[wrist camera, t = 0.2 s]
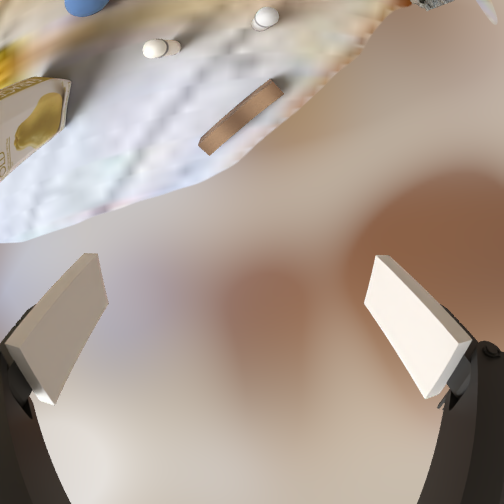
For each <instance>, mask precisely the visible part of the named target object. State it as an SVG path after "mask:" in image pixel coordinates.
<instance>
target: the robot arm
mask: <svg viewBox="0 0 504 504" xmlns="http://www.w3.org/2000/svg"><path fill="white" fill-rule="evenodd" d="M108 304H109V303H108V299H107V295H106V291H105V286H104V283H103V278H102V273H101V268H100V263H99V258H98V254H87V253H84V254H83V255H82V256H81V257H80V258H79V259H78V260H77V261H76V262H75V263H74V264H73V265H72V266H71V267H70V268H69V269H68V270H67V271H66V272H65V274H64V275H63V276H62V277H61V278H60V279H59V280H58V281H57V282H56V283H55V284H54V285H53V286H52V287H51V289H49V291H48V292H47V293H46V294H45V295H44V296H43V297H42V298H41V299H40V301H39V302H38V303H37V304H35V305H34V306H33V307H31V308H30V309H28V310H27V311H26V312H25V314H24V315H23V316H22V317H21V320H19V321H18V322H17V323H16V326H14V327H13V328H12V329H11V331H10V332H9V333H8V334H7V336H6V337H5V338H4V339H3V341H2V342H1V343H0V504H71V503H70V501H69V499H68V497H67V495H66V493H65V491H64V489H63V487H62V484H61V482H60V480H59V478H58V476H57V473H56V471H55V468H54V466H53V464H52V461H51V459H50V456H49V453H48V450H47V448H46V445H45V442H44V439H43V436H42V433H41V430H40V426H39V423H38V420H37V416H36V412H35V409H34V405H33V402H32V400H31V398H30V397H29V395H30V393H31V391H32V390H33V392H34V393H35V395H36V396H37V398H38V399H39V400H40V401H43V402H46V403H49V404H52V405H55V404H56V402H57V399H58V397H59V395H60V393H61V391H62V389H63V387H64V384H65V382H66V380H67V378H68V376H69V374H70V372H71V370H72V368H73V366H74V364H75V362H76V360H77V359H78V357H79V355H80V353H81V351H82V349H83V347H84V346H85V344H86V342H87V340H88V338H89V336H90V335H91V333H92V331H93V329H94V328H95V326H96V324H97V322H98V321H99V319H100V317H101V315H102V314H103V312H104V310H105V309H106V307H107V305H108ZM364 304H365V305H366V307H367V308H368V310H369V311H370V313H371V314H372V316H373V317H374V319H375V320H376V322H377V323H378V325H379V326H380V328H381V329H382V330H383V332H384V333H385V335H386V337H387V338H388V340H389V341H390V343H391V344H392V346H393V348H394V349H395V351H396V352H397V354H398V356H399V357H400V359H401V360H402V362H403V364H404V365H405V367H406V368H407V370H408V372H409V373H410V375H411V376H412V378H413V380H414V382H415V383H416V385H417V387H418V388H419V390H420V392H421V393H422V395H423V397H424V399H427V398H430V397H433V396H435V395H438V394H439V393H440V392H441V391H442V389H443V388H444V386H445V385H446V383H447V385H448V386H449V388H450V389H449V391H448V392H447V394H446V395H445V396H444V398H443V399H442V401H441V402H440V403H439V405H438V407H437V408H440V407H441V406H442V404H443V403H445V405H444V408H443V410H444V411H443V416H442V421H441V426H440V431H439V435H438V439H437V444H436V448H435V451H434V455H433V459H432V462H431V465H430V469H429V472H428V475H427V478H426V481H425V484H424V487H423V490H422V492H421V495H420V498H419V500H418V503H417V504H504V352H501V351H500V349H499V348H498V347H497V346H496V345H494V344H493V343H491V342H488V341H481V342H479V343H478V342H477V340H476V339H475V338H474V337H473V336H472V335H471V334H470V332H469V331H468V330H467V329H466V328H465V327H464V326H463V325H462V324H461V323H459V320H458V319H456V317H454V315H453V314H452V313H451V312H450V311H449V310H448V309H447V308H445V307H444V306H442V305H441V304H439V303H438V302H437V301H436V300H435V299H434V298H433V297H432V296H431V295H430V294H429V293H428V292H427V291H426V290H425V289H424V288H423V287H422V286H421V285H420V284H419V283H418V282H417V281H416V280H415V279H413V277H411V275H410V274H408V273H407V272H406V271H405V270H404V269H403V268H402V267H401V266H400V265H399V264H398V263H397V262H396V261H394V260H393V259H392V258H391V257H390V256H389V255H376V257H375V262H374V267H373V271H372V275H371V279H370V283H369V287H368V291H367V295H366V298H365V302H364Z"/></svg>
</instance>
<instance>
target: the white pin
mask: <svg viewBox="0 0 504 504" xmlns="http://www.w3.org/2000/svg"><path fill="white" fill-rule="evenodd" d="M180 49H181V45H180V43H179V42H178V41H174V40H163V39H152V40H149V41H147V42H146V43H145V44H144V46H143V54H144V55H145V56H146V57H147V58H160V57H163V56H169V55H175V54H177V53H178V52H179V51H180Z"/></svg>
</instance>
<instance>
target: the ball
mask: <svg viewBox="0 0 504 504" xmlns="http://www.w3.org/2000/svg"><path fill="white" fill-rule="evenodd" d="M108 2H109V0H65V7H66V9H67V11H68V12H69V13H70V14H72V15H74V16H78V17H85V16H90V15H93V14H95V13H97V12H98V11H100V10H101V9H102V8H104V7H105V6H106V4H107V3H108Z"/></svg>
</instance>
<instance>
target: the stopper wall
mask: <svg viewBox="0 0 504 504" xmlns="http://www.w3.org/2000/svg"><path fill="white" fill-rule="evenodd" d="M283 94H284V93H283V92H282V91H281V90H280V89H279V88H278V87H277V85H276V84H275V83H274V82H273V81H272V80H271V79H269V80H268V81H267V82H265V83H264V84H263V85H262V86H260V87H259V88H258V89H257V90H255V91H254V92H253V93H252V94H250V95H249V96H248V97H247V98H245V99H244V100H243V101H242V102H241V103H239V104H238V105H237V106H236V107H235V108H234V109H232V110H231V111H230V112H229V113H228V114H227V115H225V116H224V117H223V118H222V119H221V120H220V121H219V122H218V123H216V124H215V125H214V126H213V127H212V128H211V129H210V130H209V131H208V132H207V133H206V134H204V135H203V136H202V137H201V139H200V142H199V145H198V146H199V147H200V148H201V149H202V150H204V151H205V152H206V153H207V154H208V155H209V156H210V155H211V154H212V153H213V152H214V151H215V150H217V149H218V148H219V147H220V146H221V145H222V144H223V143H224V142H226V141H227V140H228V139H229V138H230V137H231V136H233V135H234V134H235V133H236V132H237V131H238V130H240V129H241V128H242V127H243V126H244V125H246V124H247V123H248V122H249V121H250V120H252V119H253V118H254V117H255V116H257V115H258V114H259V113H260V112H261V111H263V110H264V109H265V108H267V107H268V106H269V105H270V104H272V103H273V102H274V101H276V100H277V99H278V98H279V97H281V96H282V95H283Z"/></svg>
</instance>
